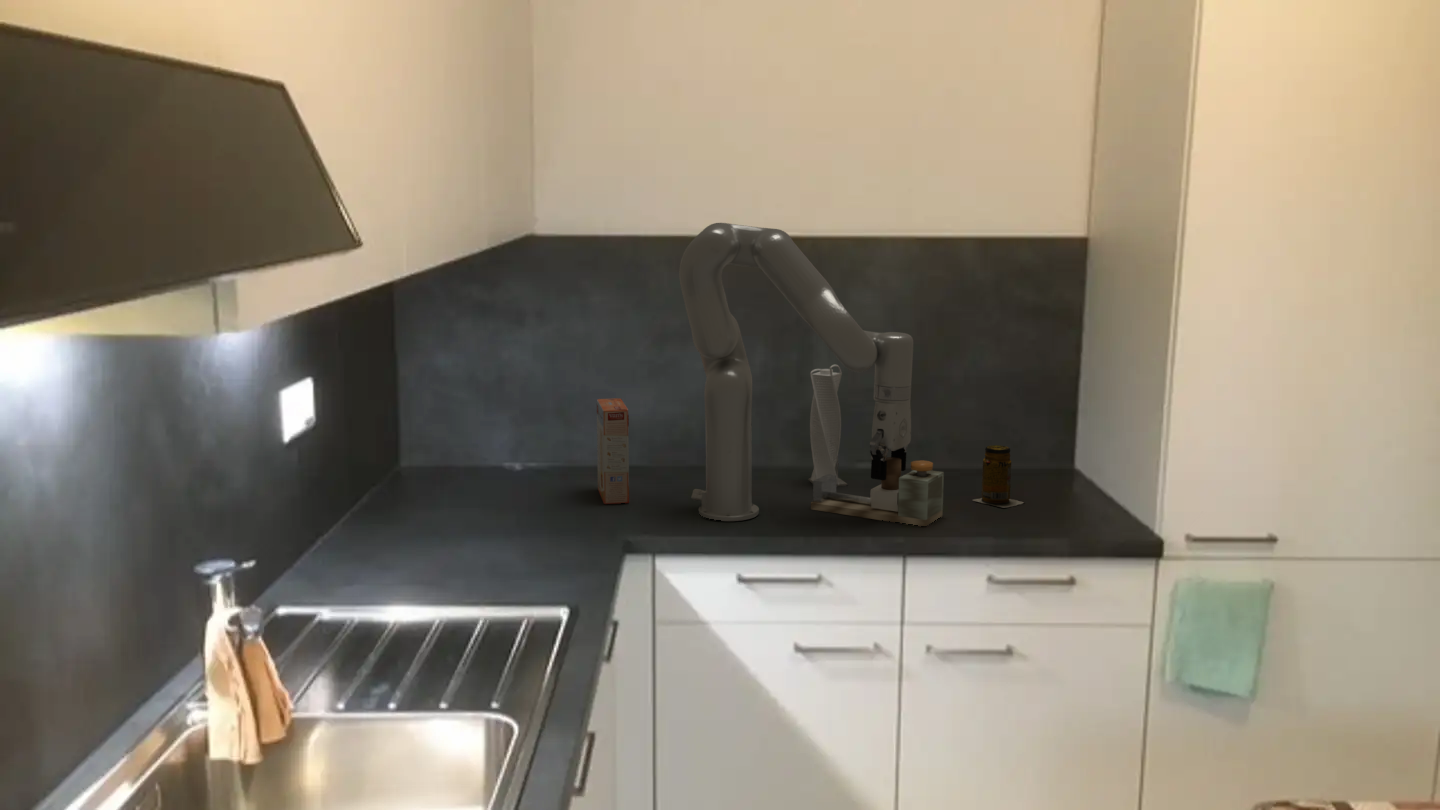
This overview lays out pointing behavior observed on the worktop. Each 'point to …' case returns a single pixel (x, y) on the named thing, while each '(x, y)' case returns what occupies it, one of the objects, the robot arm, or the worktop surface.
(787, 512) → the worktop surface
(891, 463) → the carriage
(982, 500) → the condiment
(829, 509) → the rail base
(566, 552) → the worktop surface
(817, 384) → the skyscraper
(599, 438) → the cracker box
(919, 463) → the button
